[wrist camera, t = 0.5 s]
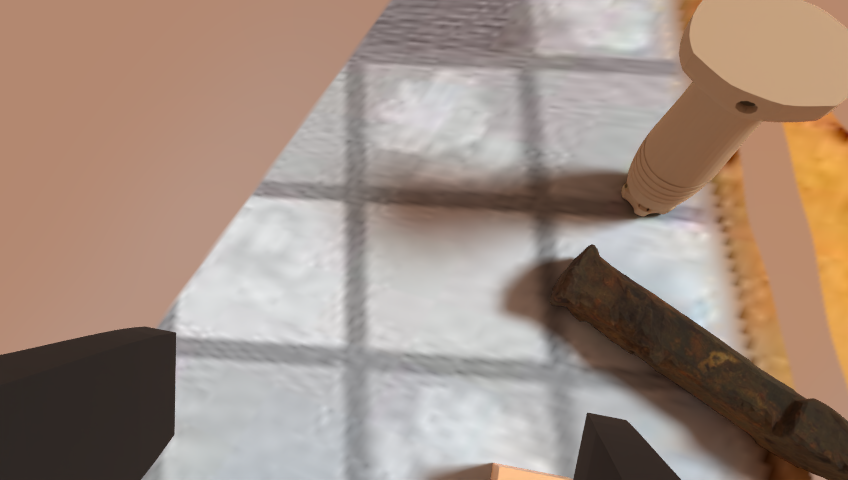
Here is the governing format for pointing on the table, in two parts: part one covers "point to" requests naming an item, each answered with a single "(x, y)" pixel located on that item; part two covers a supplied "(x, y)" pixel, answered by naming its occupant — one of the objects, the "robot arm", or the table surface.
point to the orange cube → (520, 474)
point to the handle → (738, 91)
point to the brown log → (705, 366)
